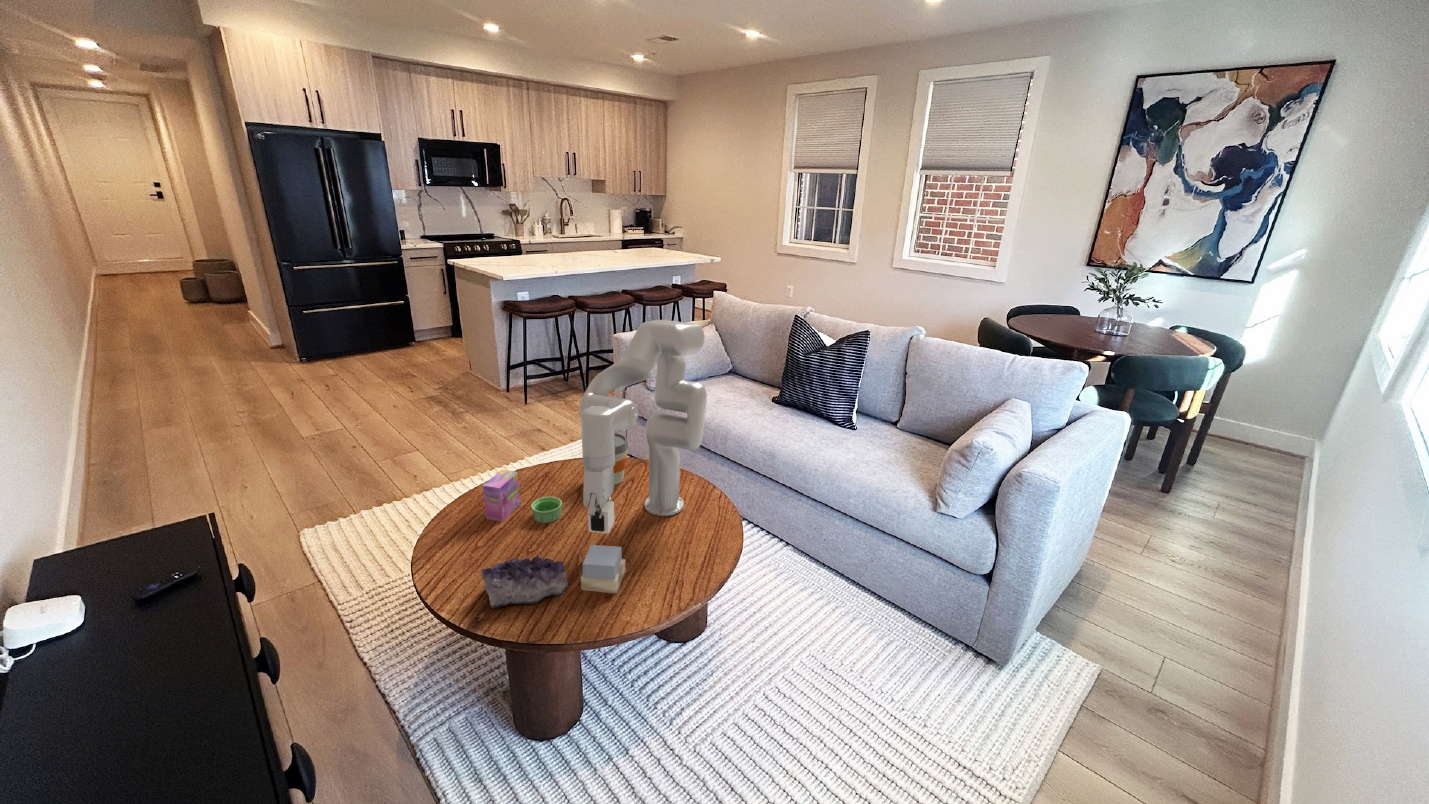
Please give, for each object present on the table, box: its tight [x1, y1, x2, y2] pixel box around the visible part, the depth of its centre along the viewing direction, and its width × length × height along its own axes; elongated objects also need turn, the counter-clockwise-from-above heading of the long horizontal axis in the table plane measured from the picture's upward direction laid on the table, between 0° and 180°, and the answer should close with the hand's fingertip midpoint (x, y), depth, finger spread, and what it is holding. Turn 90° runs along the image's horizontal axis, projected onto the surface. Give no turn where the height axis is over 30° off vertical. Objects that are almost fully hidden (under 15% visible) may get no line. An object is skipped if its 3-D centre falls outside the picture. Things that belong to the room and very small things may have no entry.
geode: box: [480, 554, 569, 609], centre depth 136 cm, size 20×12×10 cm, turn 107°
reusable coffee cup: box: [613, 432, 629, 486], centre depth 190 cm, size 13×12×15 cm
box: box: [482, 469, 521, 522], centre depth 169 cm, size 10×6×12 cm, turn 168°
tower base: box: [580, 558, 626, 594], centre depth 142 cm, size 9×9×4 cm
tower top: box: [582, 544, 623, 579], centre depth 141 cm, size 8×8×4 cm
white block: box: [587, 500, 615, 534], centre depth 136 cm, size 5×5×6 cm
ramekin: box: [530, 496, 563, 524], centre depth 169 cm, size 9×9×4 cm
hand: (601, 523), depth 137 cm, fingers closed on white block, 5 cm apart
